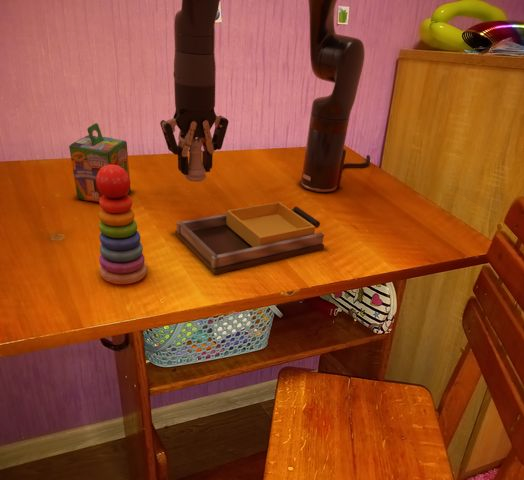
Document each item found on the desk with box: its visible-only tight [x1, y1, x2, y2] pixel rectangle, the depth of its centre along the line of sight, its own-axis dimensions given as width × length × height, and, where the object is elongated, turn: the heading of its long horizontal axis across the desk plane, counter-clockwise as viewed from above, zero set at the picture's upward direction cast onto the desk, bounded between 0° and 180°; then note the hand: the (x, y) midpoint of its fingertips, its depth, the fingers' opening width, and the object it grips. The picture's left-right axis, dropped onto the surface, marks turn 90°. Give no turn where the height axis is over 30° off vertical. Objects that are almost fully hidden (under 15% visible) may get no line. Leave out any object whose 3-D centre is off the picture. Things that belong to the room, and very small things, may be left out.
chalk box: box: [68, 122, 132, 203], centre depth 106 cm, size 9×9×15 cm
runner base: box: [175, 213, 325, 275], centre depth 98 cm, size 25×17×3 cm
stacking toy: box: [96, 165, 148, 285], centre depth 80 cm, size 8×8×19 cm
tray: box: [226, 201, 321, 247], centre depth 100 cm, size 16×13×3 cm
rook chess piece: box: [184, 137, 207, 183], centre depth 99 cm, size 4×4×8 cm
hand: (195, 171), depth 100 cm, fingers closed on rook chess piece, 4 cm apart
